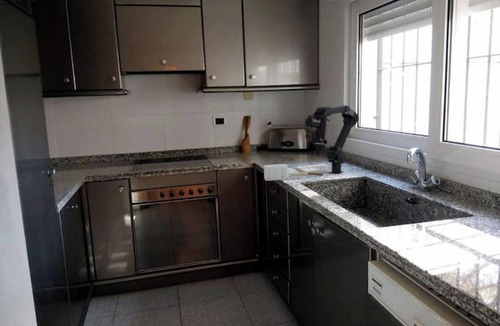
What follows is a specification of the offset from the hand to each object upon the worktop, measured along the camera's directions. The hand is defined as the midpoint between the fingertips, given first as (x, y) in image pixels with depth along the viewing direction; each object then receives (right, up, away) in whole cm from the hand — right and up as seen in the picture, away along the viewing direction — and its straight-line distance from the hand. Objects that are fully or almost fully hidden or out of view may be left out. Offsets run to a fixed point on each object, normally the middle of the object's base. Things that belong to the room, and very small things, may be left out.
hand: (318, 156), depth 214 cm
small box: (-18, -9, +1) cm, 20 cm away
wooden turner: (-4, -11, +10) cm, 15 cm away
